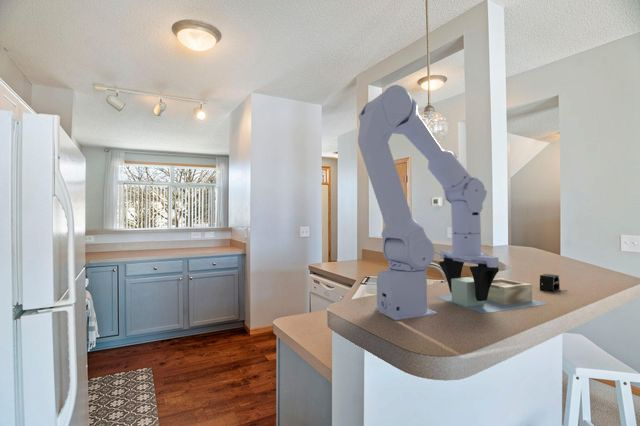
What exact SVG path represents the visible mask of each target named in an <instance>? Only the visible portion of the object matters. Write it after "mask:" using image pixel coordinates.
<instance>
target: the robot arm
mask: <svg viewBox="0 0 640 426" xmlns="http://www.w3.org/2000/svg"><path fill="white" fill-rule="evenodd" d="M358 120H359V128H358V135H357V136H358V137H357V144H358V147H359V150H360V153H361V157H362V158H363V162H364V164H365V165H364V166H365V168H366V171H367V174H368V177H369V180H370V184H371V186H372V189H373V192H374V196H375V199H376V201H377V205H378V207H379V210H380V212H381V214H380V215H381V216H382V219H383V222H384V225H385V226H384V228H383V230H382V231H381V238H382V254H383V256H384V257H385V260H387V262H388V267H389V268H388V269H384V270H381V271H379V272H378V275H377V277H376V307H374V308H375V310H376V311H377V312H378V313H381V314H383V315H385V316H387V317H389V319H392V320H394V321H399V320H404V319H405V320H406V319H411V318H418V317H419V318H420V317H427V316H432V315H433V316H435V315H437V314H438V312H437V311H435V310H432V309H430V308H428V287H427V285H428V284H427V282H428V281H427V275H428V274H427V270H429V266H430V265H431V264H432V262H433V261H434V258H435V246H434V244H433V242H432V240H430V239H429V237H428V236H427V234H426V232H425V230H424V227H423V226H422V225H420V223H419V222H417V221H416V220H415V219H414V218H413V216H412V212H411V210H410V206H409V203H408V200H407V197H406V195H405V192H404V191H405V190H404V188H403V185H402V182H401V178H400V176H399V173H398V170H397V166H396V163H395V160H394V157H393V154H392V151H391V148H390V145H389V141H390V138H391V137H392V135H394V134H397V135H403V136H404V137H406V139H408V140H409V142H410V143H411V144H412V145H413V146H414V147H415V148H416V149H417V150H418V151H419V152H420V153H421V155H423V156H424V158H426V159H427V160H428V165H427V169H428V170H429V172H430V173H431V174H432V175H433V177H434V178H435V179H436V180H437V182H439V183H440V186H441V187H442V190H443V192H444V194H443V195H444V199H445V201H447V202H448V203H449V204H450V207H451V214H450V215H451V245H452V247H451V248H452V250H440V255H439V256H440V259H441V260H442V261H438V264H439V267H440V268H441V271H442V272H443V273H444V276H445V279H446V282H447V285H448V288H449V292H450V293H451V294H452V288H451V279H453V278H462V271H463V267H464V265H465V263H466V264H473V266H469V270H470V272H471V275H472V278H473V279H474V283H475V295H476V299H477V301H485V300H487V297H488V293H489V289H490V286H491V284H492V281H493V279H495V277H496V276H497V274H498V273H499V271H500V269H499V264H500V263H499V256H494V255H488V254H485V253H484V252H482V233H481V232H482V231H481V227H482V226H481V225H482V224H481V212H482V209H483V207H484V206H483V205H484V201H485V199H486V197H487V193H488V192H487V191H488V190H487V189H486V188H485V185H484V183H483V182H482V181H481V180H480V179H479V178H477V177H474V176H473V177H472V175H470V172H469V171H468V170H467V169H466V168H465V167H464V165H463V164H462V163H461V162H460V161H459V158H458V156H457V155H456V153H454V152H452V151H451V150H445V149H443V148H442V147H441V145H440V144H439V143H438V141H437V140H436V139H435V137H434V135H433V134H432V132H431V131H430V129H429V127H428V126H427V124H426V123H425V122H424V121H423V119H422V118H421V115H420V114H419V110H418V104H417V101H416V100H415V99H414V98H412V96H411V94H410V93H409V91H408V90H407V88H405V87H404V86H402V85H398V84H394V85H390V86H389V87H387V88H386V89H385V91H383V92H382V93H380V94H379V95H377V97H375V98H374V99H372V100H369V102H367V103H366V104H364V106H363V108H362V110H360V113H359V114H358Z"/></svg>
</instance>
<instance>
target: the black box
mask: <svg viewBox="0 0 640 426" xmlns="http://www.w3.org/2000/svg"><path fill="white" fill-rule="evenodd" d="M539 290H540V291H544V292H551V293H552V292H553V293H554V292H557V291H564V292H568V291H567V290H568V289H561V288H560V275H559V274H551V273H543V274H540V275H539Z"/></svg>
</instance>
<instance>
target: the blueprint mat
mask: <svg viewBox="0 0 640 426" xmlns="http://www.w3.org/2000/svg"><path fill="white" fill-rule="evenodd" d="M435 298H437V299H439V300H442V301H445V302H448V303H451V304H454V305H456V306H460V307H463V308H465V309H469V310H471V311H474V312H477V313H480V314H491V313H496V312H504V311H512V310H517V309H525V308H531V307H532V308H533V307H539V306H544V305H545V306H546V305H549V303H547V302H543V301H539V300H537V299H536V300H535V299H532V301H527V302H520V303H513V304H506V305H504V304H501V303H497V302H494V301H490V300H485V301H484V304H483V305H476V306H468V307H467V306H464V305H461V304H458V303H455V302H452V294H447V295H438V296H435Z"/></svg>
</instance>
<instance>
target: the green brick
mask: <svg viewBox="0 0 640 426" xmlns="http://www.w3.org/2000/svg"><path fill="white" fill-rule="evenodd" d="M451 288H452V293H451V295H452V302H455V303H458V304H461V305H464V306H467V307H468V306H476V305H483V304H484V301H477V299H476V295H475V283H474V279H473V277H466V276H465V277H461V278H453V279H451Z"/></svg>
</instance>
